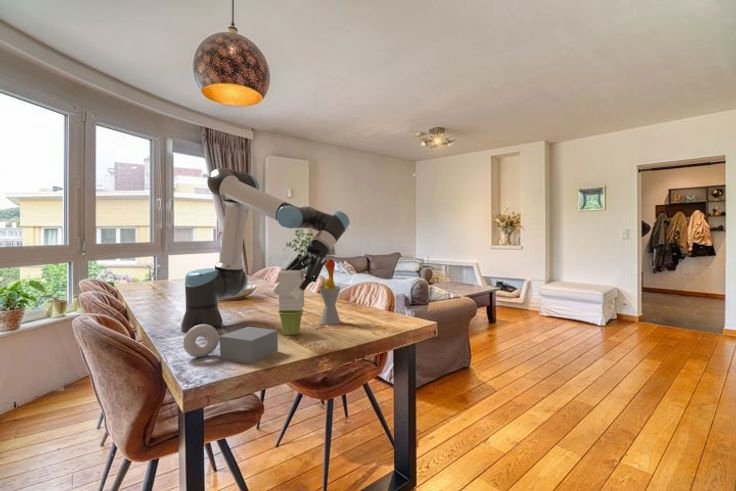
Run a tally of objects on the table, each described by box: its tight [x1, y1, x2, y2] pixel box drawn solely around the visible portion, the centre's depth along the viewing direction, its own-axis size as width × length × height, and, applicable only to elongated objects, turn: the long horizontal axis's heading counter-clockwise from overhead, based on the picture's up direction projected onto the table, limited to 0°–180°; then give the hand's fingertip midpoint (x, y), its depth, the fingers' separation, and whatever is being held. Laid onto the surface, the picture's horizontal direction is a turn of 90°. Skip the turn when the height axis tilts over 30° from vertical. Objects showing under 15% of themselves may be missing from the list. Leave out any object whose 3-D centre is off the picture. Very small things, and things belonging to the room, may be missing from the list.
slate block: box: [219, 326, 279, 365], centre depth 109 cm, size 12×12×7 cm
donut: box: [182, 324, 220, 358], centre depth 108 cm, size 10×4×10 cm, turn 124°
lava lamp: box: [319, 245, 341, 326], centre depth 149 cm, size 9×9×35 cm
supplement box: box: [277, 269, 305, 311], centre depth 119 cm, size 7×7×13 cm
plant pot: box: [277, 308, 304, 336], centre depth 133 cm, size 9×9×9 cm
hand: (284, 294), depth 116 cm, fingers closed on supplement box, 10 cm apart
